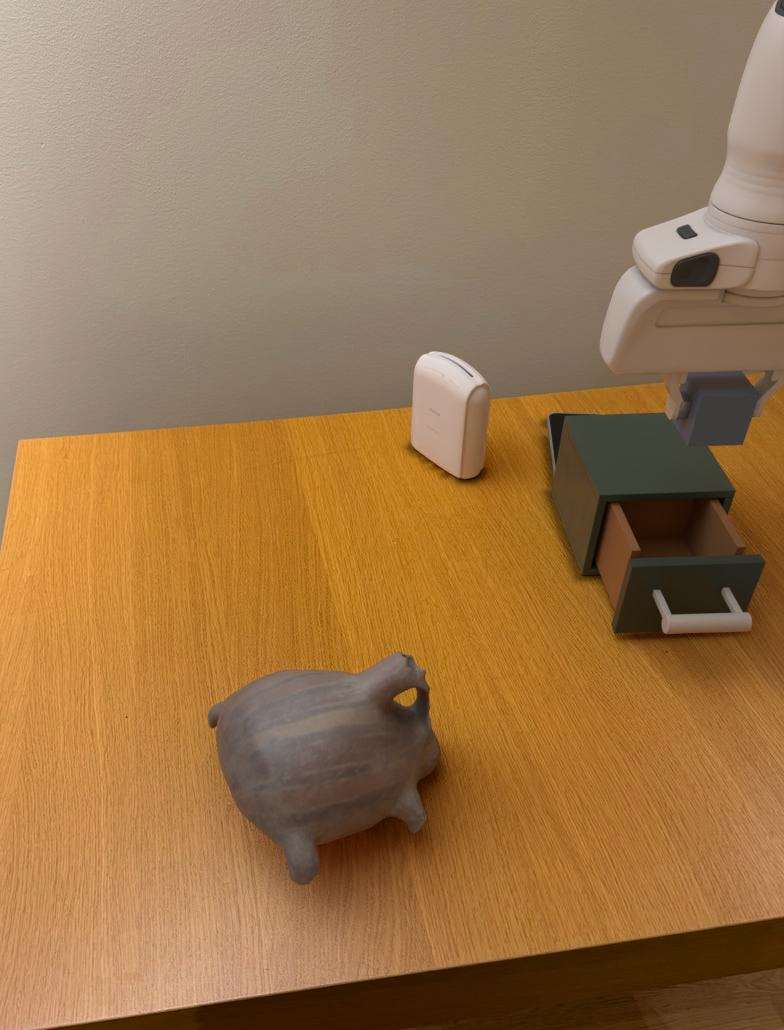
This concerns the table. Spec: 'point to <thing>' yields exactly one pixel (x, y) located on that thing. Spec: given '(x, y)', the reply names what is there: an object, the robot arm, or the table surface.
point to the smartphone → (557, 432)
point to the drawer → (675, 567)
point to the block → (717, 408)
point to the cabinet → (626, 472)
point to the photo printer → (450, 413)
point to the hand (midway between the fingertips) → (710, 415)
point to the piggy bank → (326, 754)
